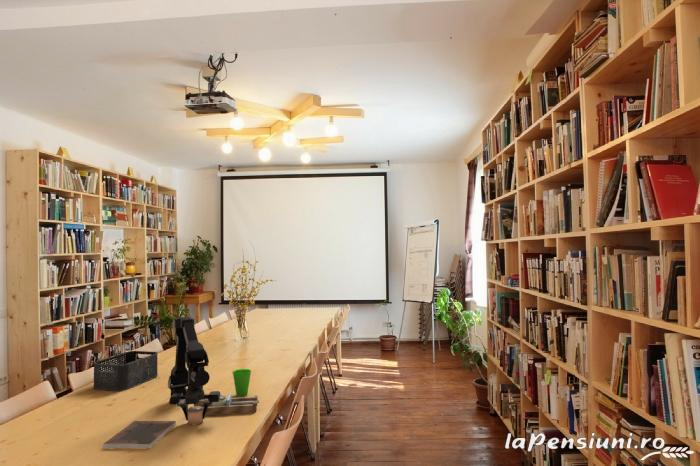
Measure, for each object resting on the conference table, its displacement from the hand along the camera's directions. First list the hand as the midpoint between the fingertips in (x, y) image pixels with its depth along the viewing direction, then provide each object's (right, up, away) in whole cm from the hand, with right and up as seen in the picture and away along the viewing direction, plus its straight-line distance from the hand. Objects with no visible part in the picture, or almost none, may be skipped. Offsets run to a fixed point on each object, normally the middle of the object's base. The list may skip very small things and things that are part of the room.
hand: (195, 419), depth 180 cm
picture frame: (-15, -1, -13) cm, 20 cm away
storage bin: (-56, -5, +58) cm, 81 cm away
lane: (+8, -2, +14) cm, 16 cm away
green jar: (+5, -2, +14) cm, 15 cm away
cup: (+10, -3, +35) cm, 36 cm away
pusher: (+15, -1, +15) cm, 22 cm away
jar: (0, -1, 0) cm, 1 cm away
